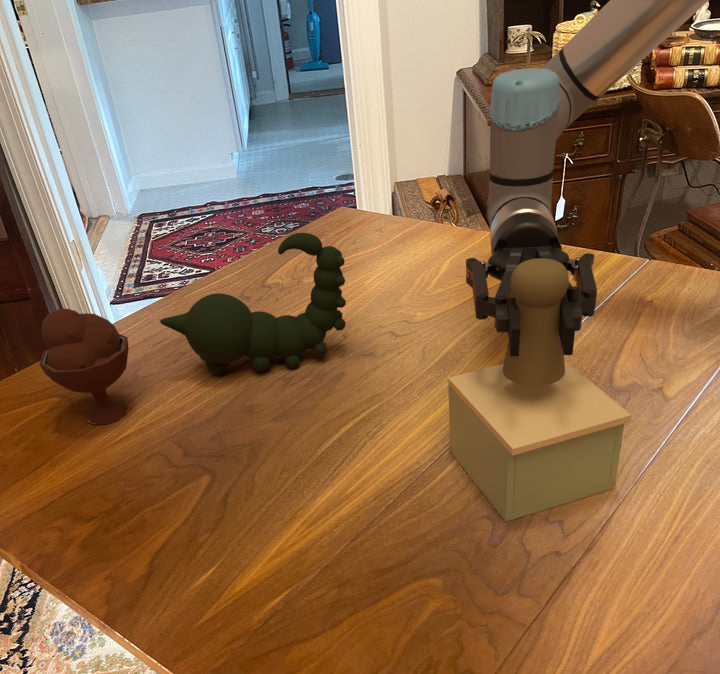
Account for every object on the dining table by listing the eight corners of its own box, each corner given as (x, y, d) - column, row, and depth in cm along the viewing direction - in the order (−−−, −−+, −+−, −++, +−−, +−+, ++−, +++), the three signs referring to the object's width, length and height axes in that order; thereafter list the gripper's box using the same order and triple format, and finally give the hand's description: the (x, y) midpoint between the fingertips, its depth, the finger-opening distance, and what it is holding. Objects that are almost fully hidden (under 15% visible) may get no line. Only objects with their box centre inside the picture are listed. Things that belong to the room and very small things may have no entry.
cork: (517, 351, 76) (522, 247, 69) (573, 362, 73) (584, 255, 67) (492, 378, 72) (495, 271, 66) (551, 391, 69) (561, 281, 63)
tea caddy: (614, 488, 76) (625, 417, 71) (505, 522, 74) (508, 451, 68) (547, 423, 87) (552, 357, 81) (449, 450, 84) (448, 384, 79)
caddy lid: (630, 421, 70) (631, 414, 70) (512, 455, 68) (512, 448, 67) (552, 356, 81) (552, 350, 81) (448, 384, 79) (447, 377, 78)
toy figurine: (339, 346, 110) (170, 360, 107) (337, 219, 99) (147, 230, 96) (350, 376, 103) (168, 392, 100) (348, 242, 92) (143, 255, 88)
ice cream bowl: (94, 446, 92) (52, 338, 83) (50, 418, 98) (7, 315, 89) (163, 408, 97) (131, 303, 88) (118, 384, 104) (84, 284, 95)
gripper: (598, 273, 84) (636, 377, 66) (449, 279, 87) (445, 381, 68) (606, 207, 80) (649, 299, 61) (448, 215, 82) (444, 306, 64)
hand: (542, 341), depth 65 cm, fingers closed on cork, 4 cm apart
